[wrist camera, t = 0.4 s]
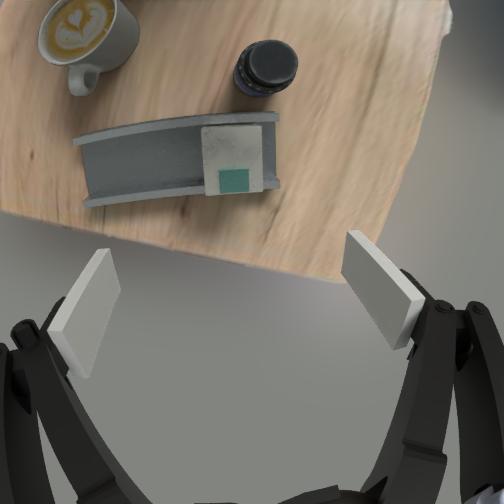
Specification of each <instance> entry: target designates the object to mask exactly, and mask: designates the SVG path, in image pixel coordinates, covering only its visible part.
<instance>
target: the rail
mask: <svg viewBox="0 0 504 504" xmlns="http://www.w3.org/2000/svg"><path fill="white" fill-rule="evenodd" d="M275 121H279V113H275V111H271V112H235V113H218V114H205V115H194V116H184V117H176V118H168V119H161V120H154V121H147V122H141V123H135V124H130V125H124V126H119V127H114V128H109V129H104V130H100V131H96V132H91V133H87V134H83V135H80V137H78V138H75V139H72V141H73V146H77V145H81V147H82V154H83V161H84V168H85V174H86V180H87V185H88V191H89V197H87V198H86V199H85V200H84V201H83V206H84V208H90V207H96V206H103V205H109V204H116V203H124V202H131V201H139V200H147V199H155V198H164V197H173V196H183V195H193V194H204V193H206V196H212V195H224V194H238V193H253V192H263V189H277V188H280V180H279V179H278V178H277V177H276V142H275Z"/></svg>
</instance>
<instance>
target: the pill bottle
mask: <svg viewBox="0 0 504 504" xmlns="http://www.w3.org/2000/svg"><path fill="white" fill-rule="evenodd" d="M297 68H298V58H297V56H296V53H295V52H294V50H293V49H292V48H291V47H290V46H289V45H288V44H286V43H284V42H282V41H278V40H265V41H259V42H256V43H253V44H251V45H250V46H248V47H247V48H246V49H245V50H244V51H243V52H242V54H241V55H240V57H239V60H238V62H237V64H236V66H235V69H234V74H233V76H234V81H235V84H236V86H237V87H238V89H239V90H240V91H242V92H243V93H244V94H246V95H248V96H251V97H265V96H268V95H271V94H274V93H276V92H279V91H282V90H283V89H285V88H287V87H288V86H289V85H290V84H291V83H292V81H293V79H294V78H295V75H296V71H297Z"/></svg>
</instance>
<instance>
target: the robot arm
mask: <svg viewBox="0 0 504 504" xmlns="http://www.w3.org/2000/svg"><path fill="white" fill-rule="evenodd" d="M341 273H342V275H343V276H344V278H345V279H346V280H347V282H348V283H349V285H350V286H351V287H352V289H353V291H354V292H355V293H356V295H357V296H358V298H359V299H360V301H361V302H362V304H363V305H364V307H365V308H366V310H367V311H368V313H369V314H370V316H371V317H372V319H373V320H374V322H375V323H376V325H377V326H378V328H379V329H380V331H381V333H382V334H383V336H384V337H385V338H386V340H387V342H388V343H389V345H390V346H391V348H392V350H396V349H400V348H403V347H406V346H407V344H408V342H409V339H410V337H411V338H412V339H413V341H414V345H413V347H412V349H411V351H410V353H409V355H408V358H407V360H409V363H408V368H407V371H406V376H405V379H404V383H403V386H402V390H401V394H400V397H399V400H398V404H397V407H396V410H395V413H394V416H393V419H392V422H391V425H390V428H389V430H388V433H387V436H386V439H385V441H384V444H383V447H382V449H381V452H380V454H379V456H378V459H377V461H376V464H375V466H374V468H373V470H372V472H371V474H370V476H369V477H368V479H367V480H366V482H365V483H364V485H363V486H362V488H361V490H360V492H357V491H352V490H339V488H338V485H334V486H331V487H327V488H323V489H319V490H314V491H310V492H305V493H302V494H300V495H298V496H295V497H293V498H291V499H288V500H286V501H283V502H281V503H278V504H435V502H436V500H437V496H438V493H439V490H440V487H441V483H442V480H443V476H444V473H445V469H446V465H447V456H446V455H445V454H443V452H442V449H443V444H444V439H445V434H446V429H447V424H448V418H449V412H450V405H451V398H452V389H453V384H454V390H455V398H456V406H457V416H458V426H459V443H460V494H461V503H462V504H504V345H503V343H502V340H501V338H500V335H499V333H498V330H497V328H496V325H495V323H494V321H493V318H492V316H491V314H490V312H489V310H488V308H487V307H486V306H485V305H484V304H482V303H480V302H476V301H471V302H469V303H468V305H467V307H466V310H455V308H454V307H453V306H452V305H451V304H450V303H448V302H446V301H444V300H434V298H433V297H432V296H431V295H430V294H429V293H428V292H427V291H426V290H425V289H424V288H423V287H422V286H420V284H419V283H418V282H417V281H416V279H415V278H413V276H412V275H411V274H409V273H408V272H406V271H404V270H403V269H398V268H397V267H396V266H395V265H394V264H393V263H392V262H391V261H390V260H389V259H388V258H387V257H386V256H385V255H384V254H383V253H382V252H381V251H380V250H379V249H378V248H377V247H376V246H375V245H374V244H373V243H372V242H371V241H370V240H369V239H368V238H367V237H366V236H364V235H363V234H362V233H361V232H360V231H359V230H354V231H347V235H346V243H345V250H344V257H343V264H342V270H341ZM120 292H121V288H120V285H119V281H118V278H117V274H116V271H115V267H114V264H113V260H112V256H111V252H110V248H106V249H98V250H97V251H96V252H95V254H94V255H93V257H92V258H91V260H90V261H89V263H88V264H87V266H86V267H85V269H84V270H83V272H82V273H81V274H80V276H79V278H78V279H77V281H76V282H75V284H74V285H73V287H72V288H71V290H70V292H69V293H68V295H67V297H62V298H61V299H60V300H59V301H57V302H56V304H55V305H54V307H53V309H52V311H51V312H50V313H49V315H48V317H47V319H46V320H45V322H44V324H43V325H42V327H41V329H40V331H39V329H38V327H37V325H36V323H35V322H34V320H31V319H25V320H22V321H20V322H19V323H17V324H16V325H15V326H14V327H13V329H12V331H11V338H12V340H13V341H14V343H15V344H16V346H17V348H18V349H16V350H12V351H9V349H8V348H7V346H6V345H5V344H4V343H0V504H55V501H54V498H53V494H52V491H51V487H50V483H49V479H48V475H47V471H46V467H45V462H44V457H43V452H42V446H41V440H40V434H39V427H38V419H37V412H38V414H39V417H40V420H41V422H42V425H43V427H44V430H45V432H46V435H47V437H48V439H49V442H50V444H51V446H52V448H53V450H54V453H55V455H56V457H57V459H58V461H59V463H60V464H61V467H62V469H63V471H64V472H65V474H66V476H67V478H68V480H69V482H70V483H71V485H72V487H73V489H74V490H75V492H76V494H77V496H78V500H77V501H76V503H77V504H152V503H151V502H150V501H149V500H148V499H147V498H146V496H145V495H144V494H143V493H142V492H141V491H140V489H139V488H138V487H137V486H136V485H135V483H134V482H133V481H132V480H131V478H130V477H129V476H128V475H127V473H126V472H125V471H124V469H123V468H122V466H121V465H120V464H119V462H118V461H117V460H116V458H115V457H114V455H113V454H112V453H111V451H110V449H109V448H108V447H107V445H106V444H105V442H104V440H103V439H102V437H101V436H100V434H99V433H98V431H97V429H96V428H95V426H94V425H93V423H92V421H91V419H90V418H89V416H88V414H87V413H86V411H85V409H84V407H83V405H82V404H81V402H80V400H79V398H78V396H77V394H76V392H75V390H74V389H73V386H72V384H71V382H70V380H69V379H68V377H67V376H66V375H67V372H68V370H70V371H71V373H72V374H73V376H74V377H76V378H86V379H89V377H90V374H91V370H92V367H93V364H94V361H95V358H96V355H97V352H98V349H99V346H100V344H101V341H102V338H103V335H104V332H105V330H106V327H107V324H108V322H109V319H110V316H111V314H112V311H113V309H114V306H115V304H116V301H117V299H118V297H119V294H120ZM195 504H236V503H195Z"/></svg>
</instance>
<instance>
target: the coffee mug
mask: <svg viewBox="0 0 504 504" xmlns="http://www.w3.org/2000/svg"><path fill="white" fill-rule="evenodd" d="M139 37H140V27H139V23H138V21H137V19H136V18H135V17H134V16H133V15H132V13H131V12H130V11H129V10H128V9H127V8H126V7H125V6H124V5H123V4H122V2H121V1H120V0H59V1H58V2H57V3H56V4H55V5H54V6H53V7H52V8H51V9H50V10H49V12H48V13H47V15H46V16H45V18H44V20H43V22H42V24H41V27H40V30H39V34H38V48H39V51H40V54H41V55H42V57H43V58H44V59H45V60H46V61H48V62H49V63H52V64H54V65H59V66H65V67H69V75H68V87H69V91H70V92H71V94H73V95H74V96H76V97H85V96H88V95H90V94H92V93H93V92H94V90H95V88H96V86H97V82H98V77H99V74H100V73H104V72H107V71H110V70H113V69H115V68H117V67H118V66H120V65H121V64H122V63H124V62H125V61H126V60H127V59H128V58H129V57H130V56H131V54H132V53H133V51H134V50H135V48H136V46H137V44H138V41H139ZM84 76H85V81H84Z"/></svg>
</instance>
